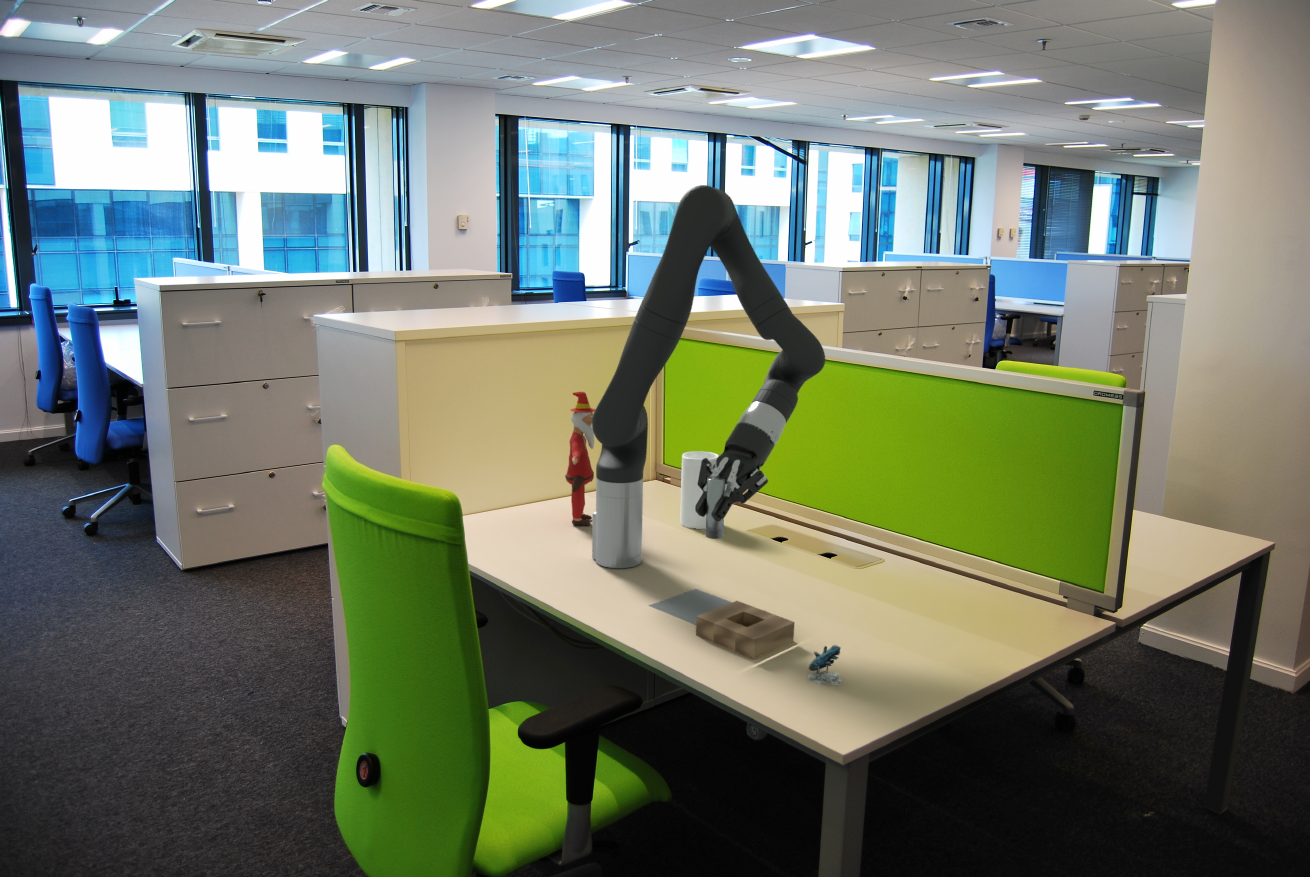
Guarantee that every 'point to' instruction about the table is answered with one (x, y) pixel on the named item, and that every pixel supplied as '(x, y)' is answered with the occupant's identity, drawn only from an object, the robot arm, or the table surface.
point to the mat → (690, 605)
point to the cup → (692, 488)
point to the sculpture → (822, 662)
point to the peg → (713, 495)
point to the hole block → (745, 629)
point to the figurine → (580, 457)
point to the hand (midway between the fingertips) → (707, 515)
